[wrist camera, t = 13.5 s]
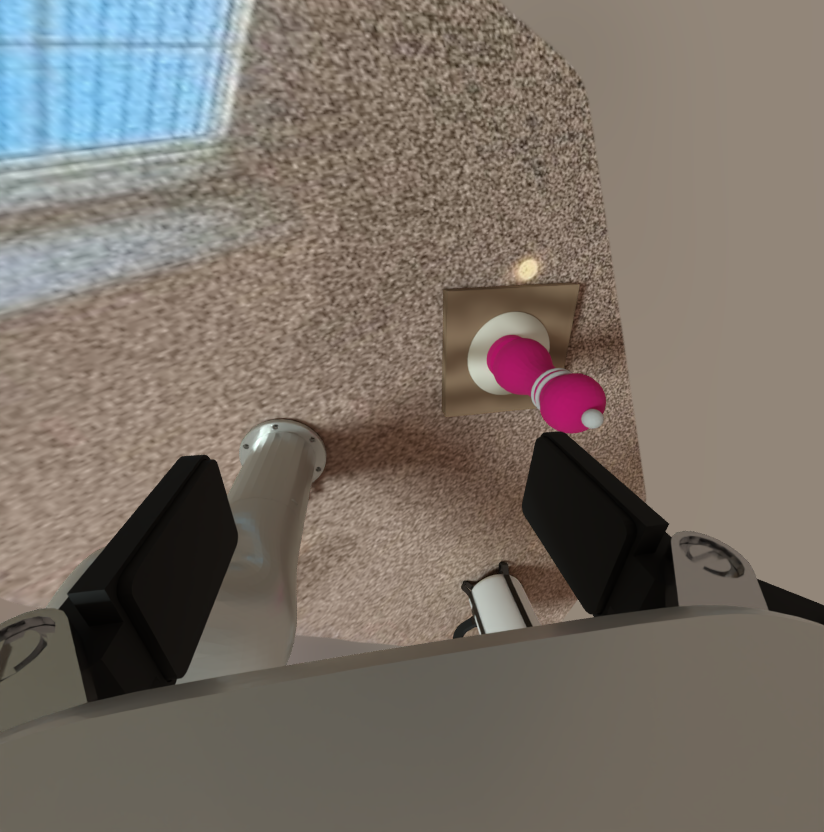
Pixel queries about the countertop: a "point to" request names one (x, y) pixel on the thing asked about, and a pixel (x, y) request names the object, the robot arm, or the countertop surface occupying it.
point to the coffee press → (497, 605)
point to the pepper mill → (547, 384)
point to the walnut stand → (487, 322)
